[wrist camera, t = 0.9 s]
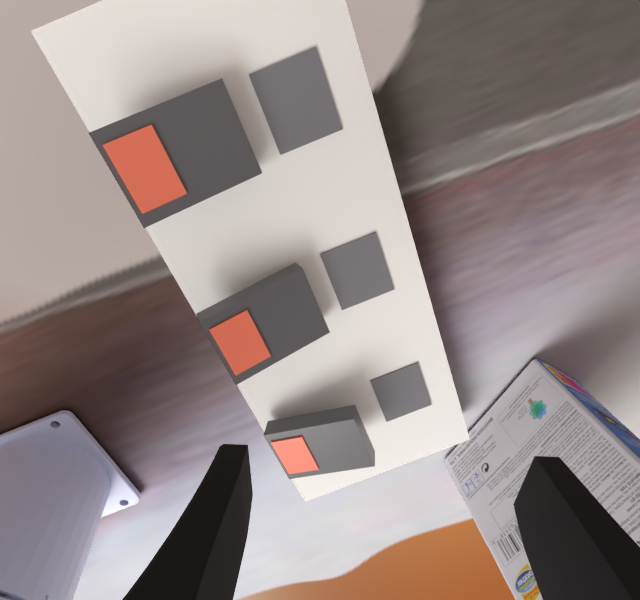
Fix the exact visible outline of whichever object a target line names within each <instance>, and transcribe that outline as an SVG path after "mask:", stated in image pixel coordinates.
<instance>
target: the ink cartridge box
mask: <svg viewBox="0 0 640 600" xmlns="http://www.w3.org/2000/svg"><path fill="white" fill-rule="evenodd" d="M468 435H469V438H470V440H467V441H465V442H462V443H460V444H458V445H457V447H456V448H455V449H454V450H453V451H452V452H451V453H450V455H449V456H448V457H447V458H446V459H445V460H444V464H445V466H446V468H447V470H448V472H449V474H450V476H451V477H452V479H453V481H454V483H455V485H456V487H457V489H458V491H459V493H460V494H461V496H462V498H463V500H464V502H465V504H466V506H467V508H468V510H469V512H470V514H471V516H472V517H473V519H474V521H475V523H476V525H477V527H478V529H479V531H480V533H481V535H482V536H483V538H484V540H485V542H486V544H487V546H488V547H489V549H490V551H491V553H492V555H493V557H494V559H495V561H496V563H497V565H498V567H499V569H500V570H501V573H502V574H503V577H504V578H505V580H506V582H507V584H508V586H509V588H510V590H511V592H512V594H513V596H514V598H515V600H543V599H542V596H541V593H540V591H539V588H538V585H537V582H536V580H535V577H534V574H533V571H532V569H531V566H530V563H529V561H528V558H527V555H526V552H525V549H524V546H523V542H522V538H521V534H520V531H519V527H518V522H517V518H516V514H515V509H514V505H513V504H514V502H515V499H516V497H517V495H518V493H519V490H520V488H521V486H522V484H523V481H524V479H525V477H526V474H527V472H528V470H529V468H530V465H531V463H532V461H533V459H534V456H547V457H560V458H561V460H562V461H563V462H564V463H565V464H566V465H567V466H568V467H569V469H570V470H571V471H572V472H573V473H574V474H575V475H576V477H577V478H578V479H579V480H580V481H581V482H582V483H583V485H584V486H585V487H586V488H587V489H588V490H589V491H590V493H591V494H592V495H593V496H594V497H595V498H596V499H597V500H598V502H599V503H600V504H601V505H602V506H603V507H604V508H605V510H606V511H607V512H608V513H609V514H610V515H611V516H612V517H613V518H614V520H615V521H616V522H617V523H618V524H619V525H620V526H621V527H622V528H623V529H624V531H625V532H626V533H627V534H628V535H629V536H630V537H631V538H632V539H633V540H634V541H635V542H636V543H637V545H638V546H639V547H640V439H638V438H637V437H636V436H635V435H634V434H633V433H632V432H631V431H630V430H629V429H628V428H626V427H625V426H624V425H623V424H622V423H621V422H620V421H619V420H618V419H616V418H615V417H614V416H613V415H612V414H611V413H610V412H609V411H608V410H607V409H606V408H605V407H603V406H602V405H601V404H600V403H599V402H598V401H597V400H596V399H594V398H593V397H592V396H591V395H590V394H589V393H588V392H587V391H586V390H585V389H584V388H583V387H582V386H581V385H580V384H579V383H578V382H577V381H575V380H574V379H572V378H570V377H568V376H567V375H565V374H563V373H562V372H560V371H559V370H557V369H555V368H554V367H552V366H550V365H548V364H547V363H545V362H543V361H541V360H540V359H534V360H532V361H531V362H530V363H529V365H528V366H527V367H526V368H525V369H524V370H523V371H522V373H521V374H520V375H519V376H518V377H517V378H516V379H515V381H514V382H513V383H512V384H511V385H510V386H509V387H508V389H507V390H506V391H505V392H504V393H503V394H502V395H501V397H500V398H499V399H498V400H497V401H496V402H495V403H494V405H493V406H492V407H491V408H490V409H489V410H488V411H487V413H486V414H485V415H484V416H483V417H482V418H481V419H480V420H479V422H478V423H477V424H476V425H475V426H474V427H473V428H472V429H471V430H470V432H469V433H468Z"/></svg>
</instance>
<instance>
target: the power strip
mask: <svg viewBox="0 0 640 600" xmlns="http://www.w3.org/2000/svg"><path fill="white" fill-rule="evenodd" d="M31 33H32V34H33V36H34V38H35V40H36V41H37V43H38V45H39V47H40V48H41V50H42V51H43V53H44V55H45V57H46V58H47V60H48V62H49V64H50V65H51V67H52V69H53V71H54V72H55V74H56V76H57V77H58V79H59V81H60V82H61V84H62V86H63V88H64V89H65V91H66V93H67V95H68V96H69V98H70V100H71V101H72V103H73V105H74V107H75V108H76V110H77V112H78V113H79V115H80V117H81V118H82V120H83V122H84V124H85V125H86V127H87V129H88V130H89V132H92V131H94V130H97V129H99V128H102V127H104V126H107V125H109V124H111V123H114V122H116V121H119V120H121V119H124V118H126V117H128V116H131V115H133V114H136V113H138V112H141V111H143V110H146V109H148V108H150V107H153V106H155V105H158V104H160V103H163V102H165V101H167V100H170V99H172V98H175V97H177V96H180V95H182V94H185V93H187V92H189V91H192V90H194V89H197V88H199V87H202V86H204V85H207V84H209V83H211V82H214V81H216V80H219V79H221V78H222V79H223V81H224V83H225V86H226V88H227V91H228V93H229V95H230V98H231V100H232V102H233V105H234V107H235V109H236V112H237V114H238V117H239V119H240V121H241V124H242V126H243V128H244V131H245V133H246V135H247V138H248V140H249V142H250V145H251V147H252V150H253V152H254V154H255V157H256V159H257V161H258V164H259V166H260V168H261V171H262V174H260V175H258V176H255V177H253V178H251V179H249V180H247V181H245V182H242V183H240V184H238V185H236V186H234V187H232V188H230V189H227V190H225V191H223V192H221V193H219V194H217V195H215V196H212V197H210V198H208V199H206V200H204V201H202V202H199V203H197V204H195V205H193V206H191V207H189V208H187V209H184V210H182V211H180V212H178V213H176V214H174V215H171V216H169V217H167V218H165V219H163V220H161V221H159V222H156V223H154V224H152V225H150V226H148V227H146V230H147V232H148V233H149V235H150V237H151V239H152V240H153V242H154V244H155V245H156V247H157V249H158V251H159V252H160V254H161V256H162V257H163V259H164V261H165V263H166V264H167V266H168V268H169V269H170V271H171V273H172V275H173V276H174V278H175V280H176V281H177V283H178V285H179V287H180V288H181V290H182V292H183V293H184V295H185V297H186V299H187V300H188V302H189V304H190V305H191V307H192V309H193V311H194V312H195V314H197V313H199V312H200V311H202V310H204V309H206V308H208V307H210V306H212V305H214V304H216V303H218V302H220V301H222V300H224V299H226V298H227V297H229V296H231V295H233V294H235V293H237V292H239V291H241V290H243V289H245V288H247V287H249V286H251V285H253V284H255V283H256V282H258V281H260V280H262V279H264V278H266V277H268V276H270V275H272V274H274V273H276V272H278V271H280V270H282V269H284V268H285V267H287V266H289V265H291V264H293V263H295V262H296V263H297V264H298V265H299V266H301V267H302V268H303V270H304V272H305V275H306V277H307V279H308V282H309V284H310V286H311V289H312V291H313V293H314V296H315V298H316V301H317V303H318V305H319V308H320V310H321V312H322V315H323V317H324V319H325V322H326V324H327V326H328V329H329V331H330V333H328V334H326V335H324V336H323V337H321V338H319V339H317V340H316V341H314V342H312V343H310V344H308V345H307V346H305V347H303V348H301V349H300V350H298V351H296V352H294V353H292V354H291V355H289V356H287V357H285V358H284V359H282V360H280V361H278V362H276V363H275V364H273V365H271V366H269V367H268V368H266V369H264V370H262V371H260V372H259V373H257V374H255V375H253V376H252V377H250V378H248V379H246V380H244V381H243V382H241V383H239V384H237V386H238V388H239V389H240V391H241V393H242V395H243V396H244V398H245V400H246V401H247V403H248V405H249V407H250V408H251V410H252V412H253V413H254V415H255V417H256V419H257V420H258V422H259V424H260V425H261V427H262V429H263V431H264V432H265V429H266V425H267V422H268V421H271V420H277V419H282V418H287V417H292V416H298V415H303V414H308V413H314V412H319V411H324V410H329V409H335V408H340V407H345V406H350V405H355V406H356V408H357V411H358V413H359V415H360V418H361V420H362V422H363V425H364V427H365V429H366V432H367V434H368V436H369V439H370V441H371V443H372V446H373V448H374V450H375V466H374V467H367V468H360V469H353V470H347V471H340V472H333V473H327V474H320V475H313V476H307V477H300V478H293V479H292V480H293V482H294V484H295V485H296V487H297V489H298V491H299V492H300V494H301V496H302V497H303V499H304V501H305V502H306V501H309V500H312V499H314V498H317V497H320V496H322V495H325V494H328V493H330V492H333V491H335V490H338V489H341V488H343V487H346V486H349V485H351V484H354V483H357V482H359V481H362V480H365V479H367V478H370V477H372V476H375V475H378V474H380V473H383V472H386V471H388V470H391V469H394V468H396V467H399V466H401V465H404V464H407V463H409V462H412V461H415V460H417V459H420V458H423V457H425V456H428V455H430V454H433V453H436V452H438V451H441V450H444V449H446V448H449V447H452V446H454V445H457V444H460V443H462V442H465V441H467V440H470V438H469V435H468V431H467V428H466V424H465V420H464V417H463V413H462V410H461V406H460V403H459V399H458V396H457V392H456V389H455V385H454V382H453V378H452V374H451V371H450V367H449V364H448V360H447V357H446V353H445V350H444V346H443V343H442V339H441V336H440V332H439V328H438V325H437V321H436V318H435V314H434V311H433V307H432V304H431V300H430V297H429V293H428V290H427V286H426V282H425V279H424V275H423V272H422V268H421V265H420V261H419V258H418V254H417V251H416V247H415V244H414V240H413V237H412V233H411V229H410V226H409V222H408V219H407V215H406V212H405V208H404V205H403V201H402V198H401V194H400V191H399V187H398V183H397V180H396V176H395V173H394V169H393V166H392V162H391V159H390V155H389V152H388V148H387V145H386V141H385V137H384V134H383V130H382V127H381V123H380V120H379V116H378V113H377V109H376V106H375V102H374V99H373V95H372V92H371V88H370V84H369V81H368V77H367V74H366V70H365V67H364V63H363V60H362V56H361V53H360V49H359V46H358V42H357V39H356V35H355V32H354V28H353V24H352V21H351V17H350V14H349V10H348V7H347V3H346V0H101V1H99V2H96V3H94V4H92V5H90V6H87V7H85V8H83V9H80V10H78V11H76V12H73V13H71V14H69V15H67V16H64V17H62V18H60V19H57V20H55V21H53V22H50V23H48V24H46V25H44V26H41V27H39V28H37V29H34V30H32V31H31ZM196 316H197V315H196Z"/></svg>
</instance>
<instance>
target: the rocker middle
mask: <svg viewBox="0 0 640 600" xmlns="http://www.w3.org/2000/svg"><path fill="white" fill-rule="evenodd" d="M196 315H197V318H198V320H199V323H200V324H201V326H202V328H203V330H204V331H205V333H206V335H207V336H208V338H209V340H210V342H211V343H212V345H213V347H214V348H215V350H216V352H217V354H218V355H219V357H220V359H221V360H222V362H223V364H224V365H225V367H226V369H227V371H228V372H229V374H230V376H231V377H232V379H233V381H234V383H235V384H236V385H237V384H239V383H241V382H243V381H244V380H246V379H248V378H250V377H252V376H253V375H255V374H257V373H259V372H260V371H262V370H264V369H266V368H268V367H269V366H271V365H273V364H275V363H276V362H278V361H280V360H282V359H284V358H285V357H287V356H289V355H291V354H292V353H294V352H296V351H298V350H300V349H301V348H303V347H305V346H307V345H308V344H310V343H312V342H314V341H316V340H317V339H319V338H321V337H323V336H324V335H326V334H328V333H330V331H329V329H328V326H327V324H326V322H325V319H324V317H323V315H322V312H321V310H320V308H319V305H318V303H317V301H316V298H315V296H314V293H313V291H312V289H311V286H310V284H309V282H308V279H307V277H306V275H305V272H304V270H303V268H302V267H301V266H299V265H298V264H297V263H296V262H295V263H293V264H291V265H289V266H287V267H285V268H284V269H282V270H280V271H278V272H276V273H274V274H272V275H270V276H268V277H266V278H264V279H262V280H260V281H258V282H256V283H255V284H253V285H251V286H249V287H247V288H245V289H243V290H241V291H239V292H237V293H235V294H233V295H231V296H229V297H227V298H226V299H224V300H222V301H220V302H218V303H216V304H214V305H212V306H210V307H208V308H206V309H204V310H202V311H200V312H199V313H197V314H196Z"/></svg>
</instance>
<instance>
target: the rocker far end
mask: <svg viewBox="0 0 640 600" xmlns="http://www.w3.org/2000/svg"><path fill="white" fill-rule="evenodd" d="M264 437H265V438H266V440H267V442H268V444H269V445H270V447H271V449H272V450H273V452H274V454H275V455H276V457H277V459H278V461H279V462H280V464H281V466H282V467H283V469H284V471H285V472H286V474H287V476H288V478H289V479H293V478H300V477H307V476H313V475H320V474H327V473H333V472H340V471H347V470H353V469H360V468H367V467H374V466H375V450H374V448H373V446H372V443H371V441H370V439H369V436H368V434H367V432H366V429H365V427H364V425H363V422H362V420H361V418H360V415H359V413H358V411H357V408H356V406H355V405H350V406H345V407H340V408H335V409H329V410H324V411H319V412H314V413H308V414H303V415H298V416H292V417H287V418H282V419H277V420H271V421H268V422H267V425H266V429H265V433H264Z"/></svg>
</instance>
